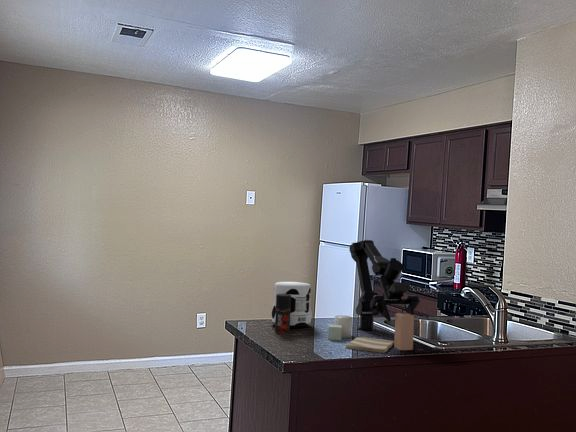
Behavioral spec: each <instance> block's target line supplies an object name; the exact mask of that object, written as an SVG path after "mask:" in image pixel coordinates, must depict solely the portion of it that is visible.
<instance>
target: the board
mask: <svg viewBox="0 0 576 432" xmlns="http://www.w3.org/2000/svg"><path fill="white" fill-rule="evenodd" d="M392 346H394V340H389V339H380V338H371V337H365V336H364V337H363V336H357V337H355V338H353V339H352V340H351V341H349V342H348V343H347V344H345V349H350V350H351V349H352V350H358V351H366V352H372V353H380V354H385V353H386V352H387V351H388V350H389V349H391V348H392Z"/></svg>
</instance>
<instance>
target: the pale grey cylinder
mask: <svg viewBox="0 0 576 432" xmlns="http://www.w3.org/2000/svg"><path fill="white" fill-rule="evenodd" d="M333 325H342V338H351V337H352V336H353V335H352V330H353V317H352V316H351V315H345V314H344V315H343V314H342V315H341V314H340V315H339V314H338V315H335V316H334V324H333Z"/></svg>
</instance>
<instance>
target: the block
mask: <svg viewBox="0 0 576 432" xmlns="http://www.w3.org/2000/svg"><path fill="white" fill-rule="evenodd" d="M327 332H328V334H327V340H332V341H342V339H343V337H342V325H334V324H328V329H327Z"/></svg>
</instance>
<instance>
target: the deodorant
mask: <svg viewBox="0 0 576 432" xmlns="http://www.w3.org/2000/svg"><path fill="white" fill-rule="evenodd" d="M290 308H291V295H289V294H277V295H276V318H275V324H274V333H276V334H284V335H285V334H290V332H291V331H290V328H291V327H290Z"/></svg>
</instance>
